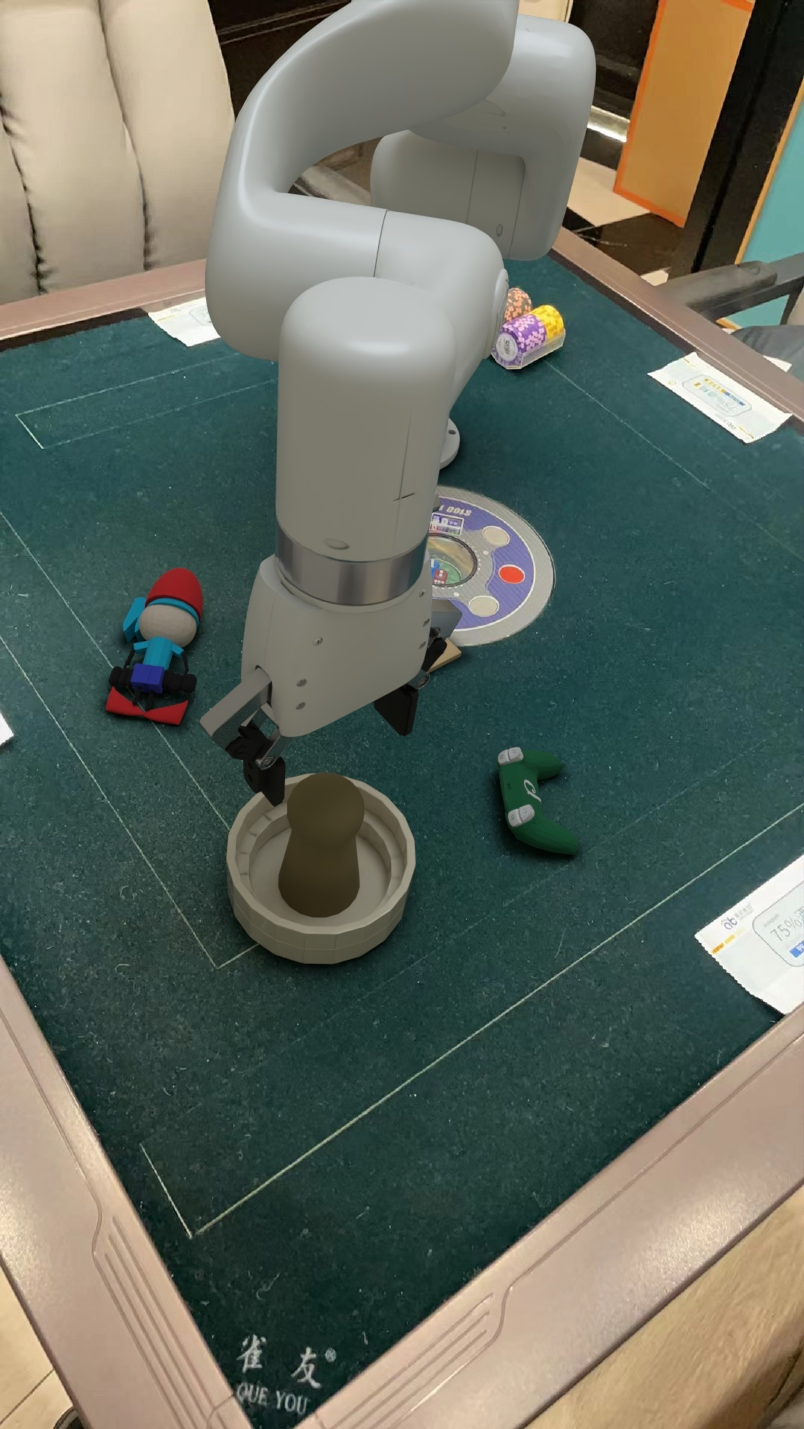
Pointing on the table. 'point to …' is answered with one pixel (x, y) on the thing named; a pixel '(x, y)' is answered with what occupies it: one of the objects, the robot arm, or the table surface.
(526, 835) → the gaming controller
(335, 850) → the olive brown pawn
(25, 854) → the table surface
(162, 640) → the toy figure
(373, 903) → the bowl
